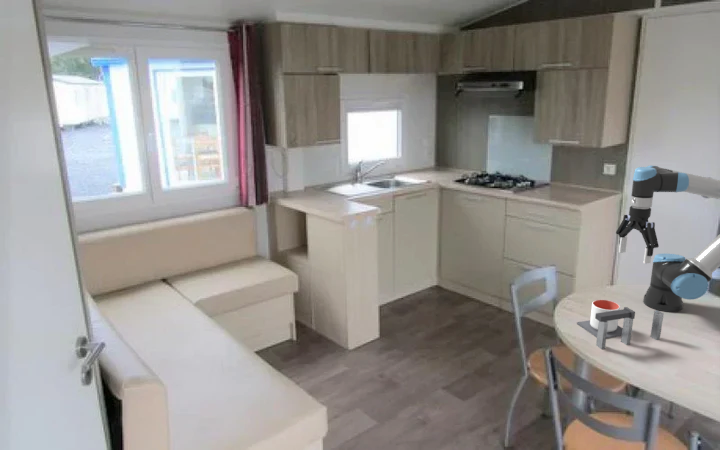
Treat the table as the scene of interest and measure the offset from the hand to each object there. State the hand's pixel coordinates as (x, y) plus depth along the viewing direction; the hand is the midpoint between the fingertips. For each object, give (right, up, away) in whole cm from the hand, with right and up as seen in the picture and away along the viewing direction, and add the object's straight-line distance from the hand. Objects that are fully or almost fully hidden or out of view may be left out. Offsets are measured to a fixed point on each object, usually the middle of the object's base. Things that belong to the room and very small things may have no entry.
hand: (634, 257), depth 212 cm
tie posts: (-9, -32, -13) cm, 35 cm away
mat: (-13, -29, -2) cm, 32 cm away
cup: (-13, -28, -2) cm, 31 cm away
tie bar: (-17, -22, -18) cm, 32 cm away
